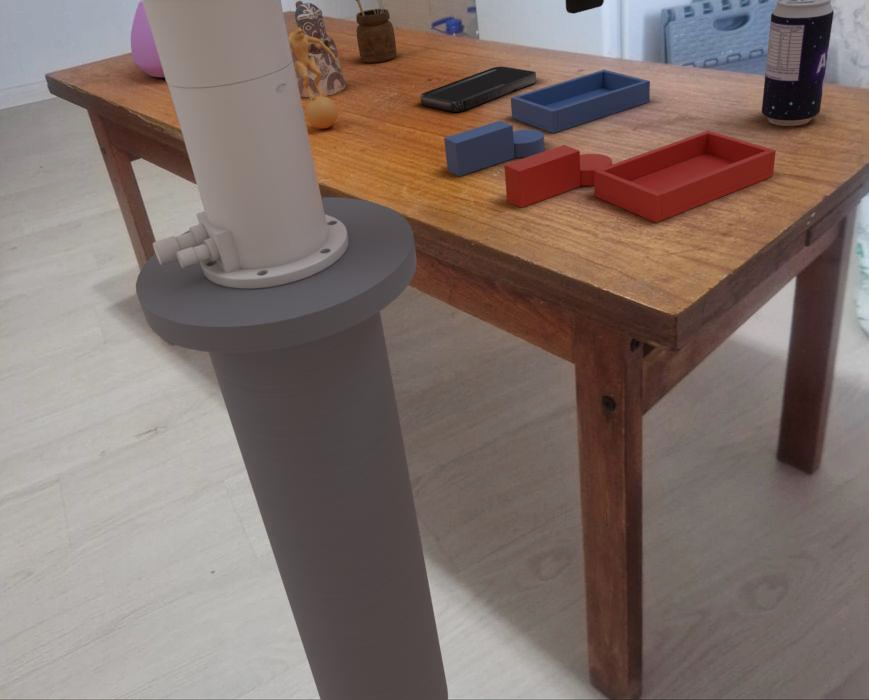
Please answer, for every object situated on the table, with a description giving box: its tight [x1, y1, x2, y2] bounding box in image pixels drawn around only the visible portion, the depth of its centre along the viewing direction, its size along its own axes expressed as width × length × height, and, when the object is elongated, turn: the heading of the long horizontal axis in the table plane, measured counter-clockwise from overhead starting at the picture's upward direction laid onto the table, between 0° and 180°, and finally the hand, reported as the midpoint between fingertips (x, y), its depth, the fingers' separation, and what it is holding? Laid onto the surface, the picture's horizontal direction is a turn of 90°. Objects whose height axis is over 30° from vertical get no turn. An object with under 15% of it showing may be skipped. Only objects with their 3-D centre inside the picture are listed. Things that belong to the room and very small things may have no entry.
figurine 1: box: [291, 0, 346, 98], centre depth 116 cm, size 7×7×12 cm
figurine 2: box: [288, 27, 339, 130], centre depth 101 cm, size 8×6×12 cm
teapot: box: [130, 0, 165, 78], centre depth 138 cm, size 22×22×14 cm
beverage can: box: [761, 0, 835, 127], centre depth 84 cm, size 6×6×12 cm
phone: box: [419, 66, 537, 113], centre depth 108 cm, size 8×1×15 cm
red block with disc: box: [503, 144, 613, 208], centre depth 78 cm, size 11×4×4 cm, turn 120°
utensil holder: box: [355, 0, 397, 64], centre depth 128 cm, size 6×6×12 cm
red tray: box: [593, 130, 777, 223], centre depth 75 cm, size 14×8×2 cm, turn 120°
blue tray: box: [510, 69, 651, 134], centre depth 97 cm, size 14×8×2 cm, turn 120°
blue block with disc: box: [443, 120, 545, 178], centre depth 86 cm, size 11×4×4 cm, turn 120°
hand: (547, 2), depth 66 cm, fingers open, 9 cm apart
